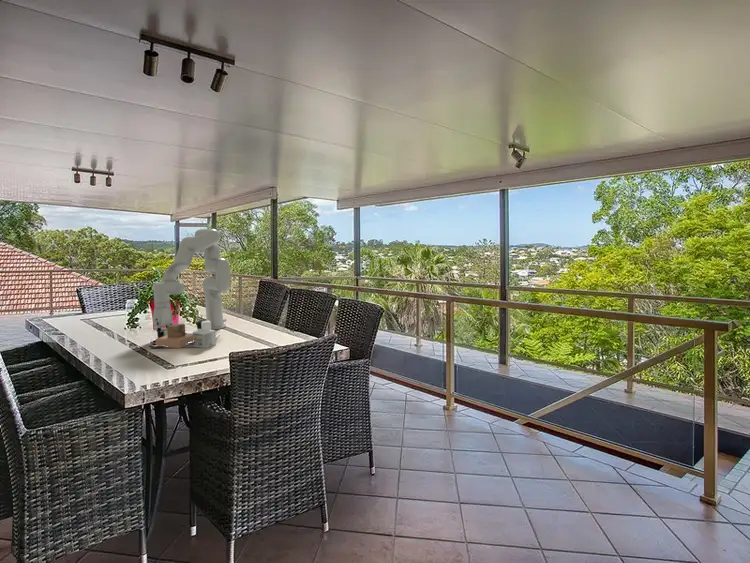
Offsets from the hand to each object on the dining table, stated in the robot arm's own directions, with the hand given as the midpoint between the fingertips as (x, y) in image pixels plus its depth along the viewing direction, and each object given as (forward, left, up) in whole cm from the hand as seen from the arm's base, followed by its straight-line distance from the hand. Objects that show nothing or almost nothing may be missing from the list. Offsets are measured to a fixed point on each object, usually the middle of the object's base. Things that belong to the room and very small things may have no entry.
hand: (164, 337), depth 241 cm
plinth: (+9, +15, -1) cm, 18 cm away
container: (+10, +32, -1) cm, 33 cm away
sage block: (0, 0, -1) cm, 1 cm away
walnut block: (+9, +15, +3) cm, 18 cm away
